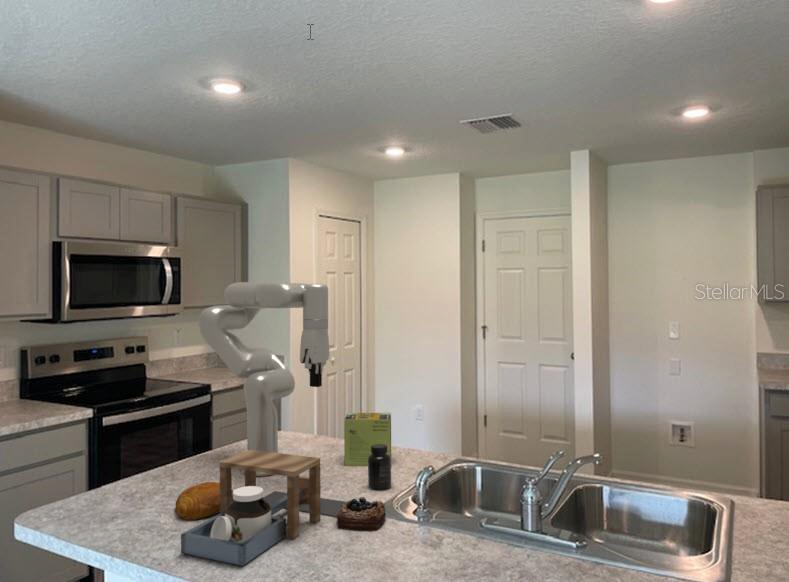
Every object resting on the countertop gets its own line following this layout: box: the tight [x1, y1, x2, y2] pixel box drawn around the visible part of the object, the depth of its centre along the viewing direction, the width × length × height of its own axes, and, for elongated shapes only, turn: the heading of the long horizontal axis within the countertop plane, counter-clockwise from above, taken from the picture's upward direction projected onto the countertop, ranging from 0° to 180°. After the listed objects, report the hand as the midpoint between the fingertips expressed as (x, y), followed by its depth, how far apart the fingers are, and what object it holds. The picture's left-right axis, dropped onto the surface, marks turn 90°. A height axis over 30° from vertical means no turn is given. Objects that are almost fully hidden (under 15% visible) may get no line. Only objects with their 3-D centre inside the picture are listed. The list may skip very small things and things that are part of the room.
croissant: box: [174, 481, 234, 521], centre depth 157 cm, size 14×16×8 cm
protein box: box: [343, 412, 392, 467], centre depth 200 cm, size 10×15×16 cm
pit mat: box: [263, 490, 347, 518], centre depth 160 cm, size 26×10×1 cm, turn 67°
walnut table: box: [219, 450, 322, 540], centre depth 147 cm, size 21×12×16 cm, turn 67°
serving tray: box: [180, 475, 309, 566], centre depth 144 cm, size 16×38×7 cm, turn 157°
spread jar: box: [210, 485, 271, 543], centre depth 136 cm, size 12×11×12 cm
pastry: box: [336, 496, 387, 532], centre depth 148 cm, size 11×12×6 cm
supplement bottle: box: [367, 444, 392, 491], centre depth 174 cm, size 7×7×12 cm
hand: (315, 386), depth 178 cm, fingers closed
